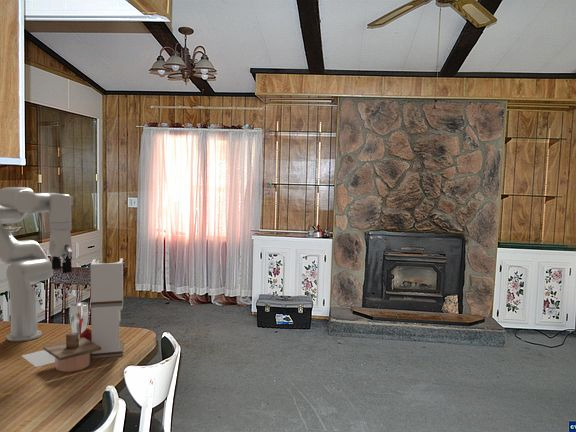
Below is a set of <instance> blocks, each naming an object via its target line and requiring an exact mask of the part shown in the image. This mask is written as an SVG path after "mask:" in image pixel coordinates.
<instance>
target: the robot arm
mask: <svg viewBox="0 0 576 432" xmlns="http://www.w3.org/2000/svg"><path fill="white" fill-rule="evenodd" d="M28 213H29V214H38V213H39V214H40V213H49V231H50V233H49V245H48V246H49V247H48V249H49V255H51V258H49V256H48V254H46V252H45V250H44V249H43V247H42V246H41V245H40V243H38V241H36V240H33V239H24V240H18V239H16V237H14V235H13V233H12V232H11V231H10V230H9V229H7V228H6V227H4V226H2V224H3V225H4V224H5V225H7V224H17V223H20V222H21V221H23V219H24V218H25V217H26V216H27V214H28ZM72 224H73V223H72V197H71V195H70V194H67V193H57V192H35V191H34V190H33V189H32V188H30V187H27V186H26V187H25V186H24V187H23V186H18V187H17V186H9V187H8V186H6V187H2V188H1V189H0V260H1V261H2V262H3V263H4V264H5V265H8V267H7V268H6V272H5V273H6V278H7V283H8V287H9V289H8V291H9V302H10V303H9V304H10V305H9V310H10V333H9V334H7V336H6V340H8V341H9V342H25V341H26V342H27V341H30V340H34V339H35V340H36V339H38V338H40V337H41V336H42V331H41V330H40V329H38V305H37V304H38V303H37V299H38V298H37V292H36V290H35V289H34V287H33V286H32V283H37V282H43V281H47V280H49V279H50V278H52V277H53V274H54V270H60V269H61V271H62V274H67V273H72V260H73V259H72V258H73V251H72V250H73V247H72V246H73V245H72V244H73V243H72V235H71V234H72V233H71V231H72V230H73V227H72V226H73V225H72Z"/></svg>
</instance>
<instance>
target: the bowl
mask: <svg viewBox="0 0 576 432" xmlns="http://www.w3.org/2000/svg"><path fill="white" fill-rule="evenodd" d="M90 363H91V353H87V354H84V355H80V356H76V357H72V358H68V359H64V360H58V359H57V358H55V362H54V365H55V366H54V367H55V370H57V371H58V372H65V373H66V372H67V373H69V372H76V371H81V370H84V369H86V368H87V367H89V366H90Z"/></svg>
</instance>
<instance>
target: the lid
mask: <svg viewBox="0 0 576 432" xmlns="http://www.w3.org/2000/svg"><path fill="white" fill-rule="evenodd" d="M43 350H45V351H46V352H48V353H49V354H51V355H52V356H54V357H55V358H57V359H58V360H64V359H68V358H72V357H76V356H80V355H84V354H87V353H90V354H92V352H95V351H99V350H101V347H100V346H98V345H97V344H95V343H93V342H91V341H89V340H87V339H85V338H80V339H79V333H72V332H69V333H67V334H65V341H64V342H60V343H59V342H58V343H55V344H51V345H50V344H49V345H45V346H43Z"/></svg>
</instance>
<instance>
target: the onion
mask: <svg viewBox="0 0 576 432" xmlns="http://www.w3.org/2000/svg"><path fill="white" fill-rule="evenodd" d="M80 338H85V339H87V340H89V341H91V342H92V329H90V328H89V327H88V326H87V327H86V330H85V331H83V332H82V334H81V335H80Z"/></svg>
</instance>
